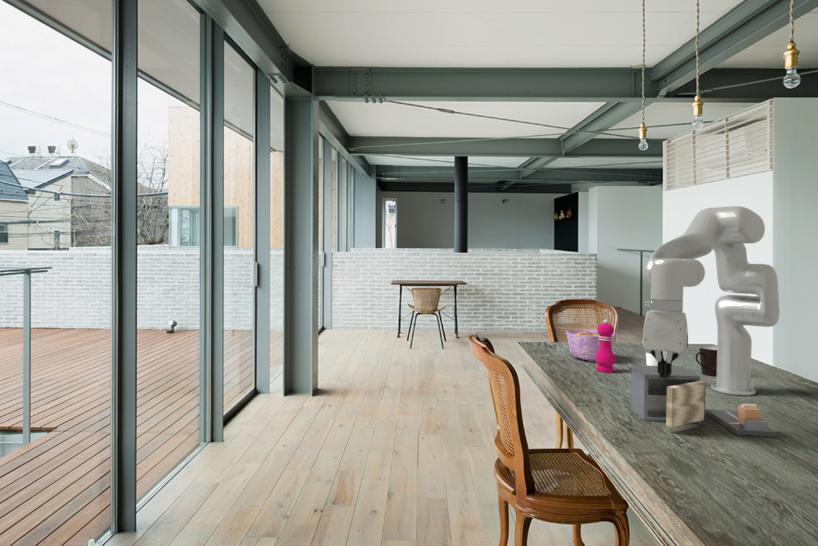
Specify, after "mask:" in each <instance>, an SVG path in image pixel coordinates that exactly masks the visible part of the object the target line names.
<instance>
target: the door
mask: <svg viewBox="0 0 818 546" xmlns="http://www.w3.org/2000/svg"><path fill="white" fill-rule="evenodd" d="M706 384H707V381H705V380H700V381H697V382H691V383H686V384H680V385H674V386H669V387H667V409H666V421H665V426H666V427H669V428H670V429H671V428H676V427H680V426H681V427H682V426H684V425H689V424H693V423H696V422H698V421H699V425H700V426H705V424H706V388H707V386H706Z"/></svg>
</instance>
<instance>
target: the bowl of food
mask: <svg viewBox="0 0 818 546" xmlns="http://www.w3.org/2000/svg"><path fill="white" fill-rule="evenodd" d="M565 334H566V339H567V342H568V343H567V344H568V346H569V350H570V352H571V354H572V355H573V356H575V357H576V358H579V360H581V359H582V360H581V361H584V360H587V361H586V362H596V361H595V357H596V354H597V352H598V350H599V346H600V340H599V336H600V335H599V333H598V332H597V329H587V328H582V329H581V328H580V329H579V328H578V329H577V328H576V329H568V330H566V331H565ZM615 337H616V333H615V332H614V333H613V334H612V340H611V349H613V345H614V342H615V339H616V338H615Z"/></svg>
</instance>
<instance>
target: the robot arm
mask: <svg viewBox="0 0 818 546" xmlns="http://www.w3.org/2000/svg"><path fill="white" fill-rule="evenodd" d="M765 231H766V227H765V222H764V219H763V218H762V217H761V216H760V215H759V214H758V213H757V212H754V211H753V210H752V209H750V208H747V207H744V206H739V205H735V206H721V207H719V206H717V207H708V208H704V209H702V210H700V211H698V213H697V214H696V215H695V217H694V218H693V219H692V221H691V223H690V224H689V226H688V227H687V229H686V230H685V232H684V233H683V234H681V235H679V236H676V237H675V238H673V239H671V240H669V241H666V242H665V243H663V244H661V245H659V246H658V247H657V248H655V250H654V251H653V253H652V254H651V255H650V257H649V259H648V260H647V262H646V265H645V269H644V276H645V277H644V278H645V279H646V280H647V282H648V283H649V284H650V298H649V300H644V306H645V307H648V308H649V309H650V310H647V311H646V313H645V318H644V322H643V331H642V338H641V339H642V341H641V342H642V352H644V353H645V354H646V353H649V354H652V356H653V357H654V358H655V359H656V361H657V362H658V373H659V374H660V376H659V377H660V378H662V377H664V378H668V377H669V375H671V371H672V366H673V365H672V363H673V362H674V361H675V360H676V359H677V358H686V357H688V356H689V350H688V346H689V333H688V331H689V329H688V321H687V320H688V319H687V315H686V312H684V310H683V309H684V308H683V306H684V288H693V287H696V286H698V285H700V284H701V283H702V282H703V281H704V279H705V276H706V269H705V266H704V265H703V264H702V262H700V261H699V260H698V259H699V258H701V257H704V256H707V255H709V254H710V253H711V252H712V251H713V252H714V255H715V264H716V276H717V282H718V283H717V284H718V287H719V289H720V290H721V291H723V292H726V293H732V294H726V295H722V296H719V297H718V298H717V300H716V301H715V303H714V313H715V317H716V325H717V328H716V329H717V344H716V345H717V346H716V347H717V376H716V382H715V383H714V382H713V383H711V385H710V389H711V390H714V391H715V392H718V393H721V394H722V393H723V394H727V395H728V394H729V395H734V396H754V395H755V394H756V393H757V389H755V388H757V387H759V388H767V386H768V383H767V381H766V380H758V379H754V378H752V377H751V375H752V373H751V371H752V346H753V345H752V344H753V343H752V336H751V335H750V332H749V331H748V330H747V329H746V328H745V326H751V327H752V326H753V327H764V328H769V327H774V326H775V325H777V324H778V323H779V319H780V298H779V281H778V276H777V271H776V269H775V268H774V267H773V266H771V264H766V263H750V262H749V261H748V255H747V248H746V246H745V244H756V243H759V242H760V241H761V240H762V239H763V238H764V236H765ZM739 294H742V295H739ZM744 294H745V295H744ZM746 294H747V295H746ZM749 294H750V295H749ZM754 295H757V296H754ZM663 351H667V358H666V360H665V361H664V357H663Z"/></svg>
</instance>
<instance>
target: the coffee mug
mask: <svg viewBox="0 0 818 546" xmlns="http://www.w3.org/2000/svg"><path fill="white" fill-rule="evenodd" d="M698 350H699V351H698V352H697V353H696V354H695V361H696V363H697V364H698V365H699V366H700V371H701V374H702V375H704V376H708V377H717V346H712V345H701V346H700V345H699V347H698ZM698 356H699V358H700V359H699V360H700V361H699V360H698Z"/></svg>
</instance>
